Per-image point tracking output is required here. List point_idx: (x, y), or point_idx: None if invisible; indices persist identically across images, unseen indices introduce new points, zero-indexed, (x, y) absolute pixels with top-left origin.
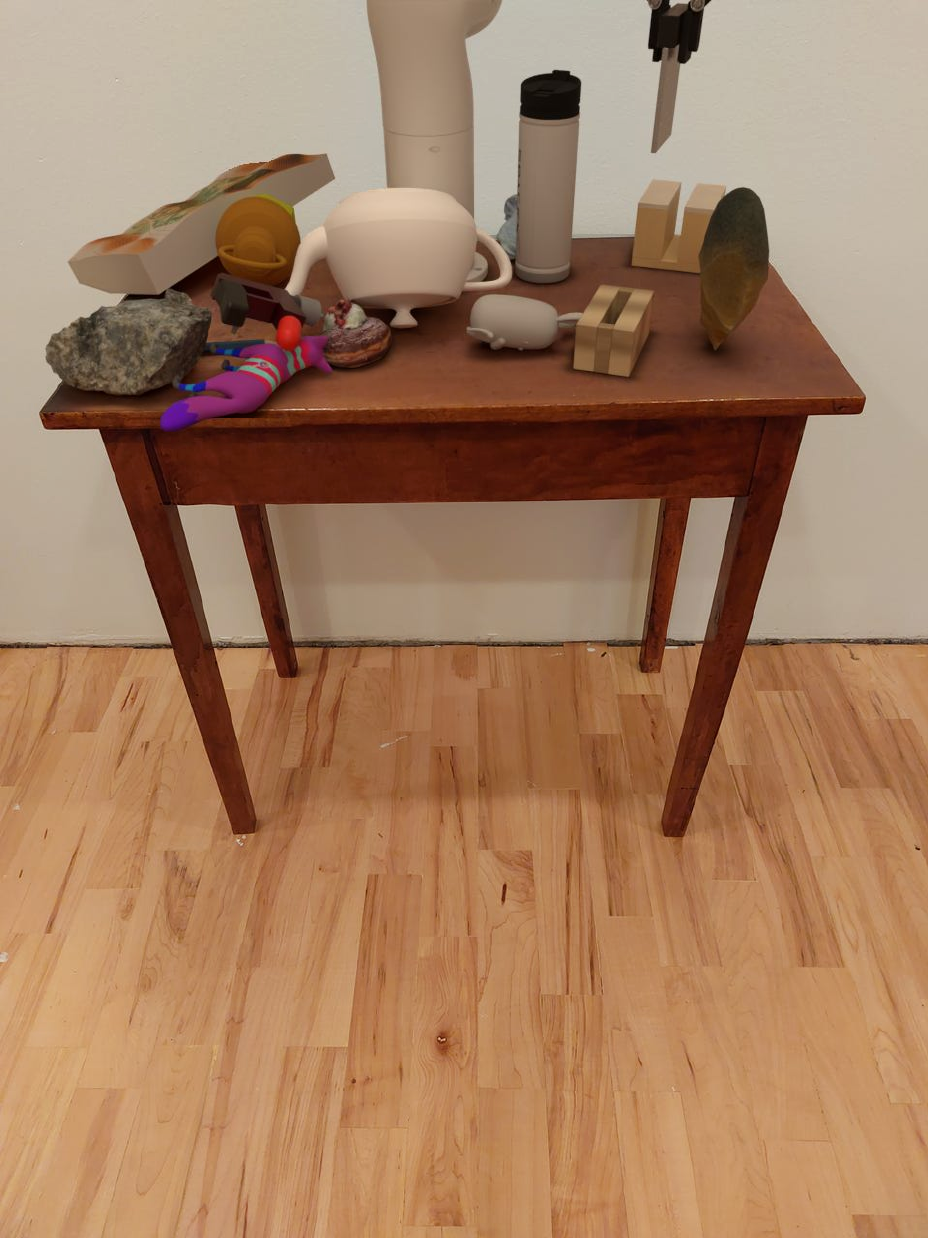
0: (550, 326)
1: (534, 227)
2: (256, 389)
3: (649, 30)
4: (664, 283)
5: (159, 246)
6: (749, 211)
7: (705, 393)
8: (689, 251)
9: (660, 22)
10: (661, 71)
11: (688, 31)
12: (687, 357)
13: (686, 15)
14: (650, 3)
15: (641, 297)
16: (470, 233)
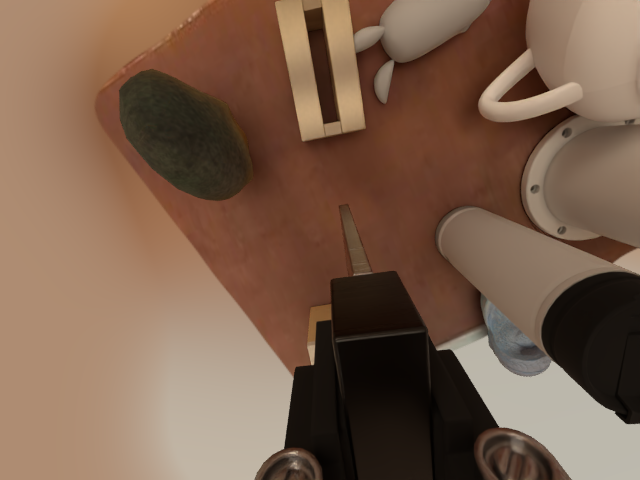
0: (385, 12)
1: (497, 219)
2: None
3: (470, 380)
4: (338, 269)
5: None
6: (129, 96)
7: (200, 31)
8: (328, 315)
9: (414, 311)
10: (359, 246)
11: (313, 377)
12: (249, 107)
13: (329, 418)
14: (531, 454)
15: (307, 112)
16: (572, 3)
